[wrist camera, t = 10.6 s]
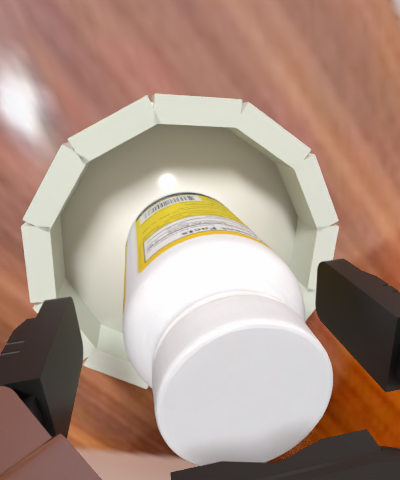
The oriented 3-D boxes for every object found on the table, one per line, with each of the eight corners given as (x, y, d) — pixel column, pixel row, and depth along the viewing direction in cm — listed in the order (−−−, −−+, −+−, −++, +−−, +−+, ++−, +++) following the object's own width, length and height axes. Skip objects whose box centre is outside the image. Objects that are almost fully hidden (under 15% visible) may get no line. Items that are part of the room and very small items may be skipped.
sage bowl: (-19, 189, 15) (-54, 205, 12) (244, 44, 15) (269, 28, 12) (135, 386, 20) (135, 430, 17) (335, 277, 20) (368, 304, 17)
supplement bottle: (205, 311, 18) (278, 513, 9) (106, 270, 16) (69, 468, 7) (260, 220, 17) (410, 345, 8) (160, 166, 15) (198, 244, 6)
